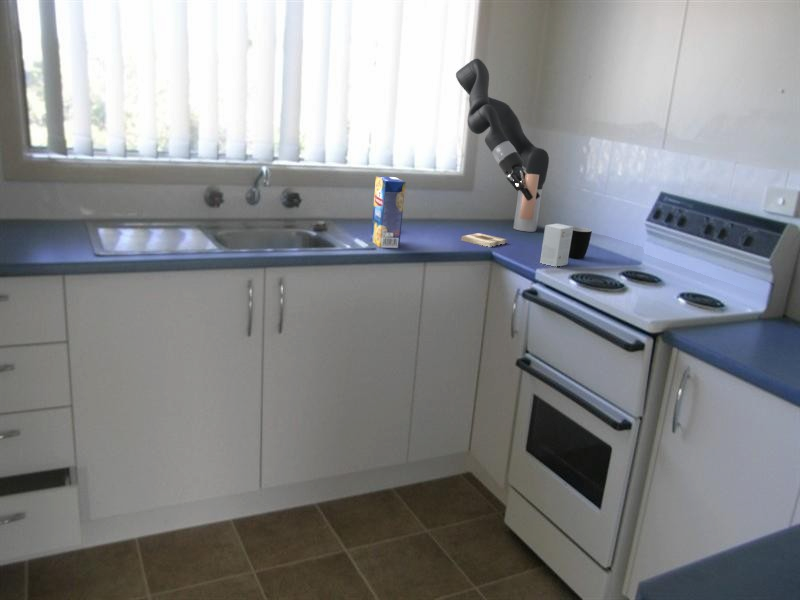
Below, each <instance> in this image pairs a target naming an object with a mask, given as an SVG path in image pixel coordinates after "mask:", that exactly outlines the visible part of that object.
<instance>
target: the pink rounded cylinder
mask: <svg viewBox="0 0 800 600" xmlns="http://www.w3.org/2000/svg"><path fill="white" fill-rule="evenodd" d="M538 180H539V175H538V174H531V173H526V174H525V184H526V187H527V188H528V190H529V191H530V193H531V194H532V196H533V198H532V199H531V200H529V201H527V199H526V198H525V196H524V195H522V202H521V209H520V217H519V218H521V219H526V220H533V215H534V208H535V201H536V194H537V187H538ZM527 188H526V189H527Z"/></svg>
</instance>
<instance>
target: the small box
mask: <svg viewBox="0 0 800 600" xmlns="http://www.w3.org/2000/svg"><path fill="white" fill-rule="evenodd" d="M572 226H573V225H566V224H563V223H558V222H557V223H552V224H546V225H545V226H544V231H543V232H544V233H543V238H542V239H543V240H542V246H541V254H540V259H539V260H540V261H539V264H540V263H542V264H541V265H543V264H546V265H545V266H547V265H551V266H556V267H555V268H558V267H557V266H560V267H562V266H567V265H569V264H568V262H569V258H568V257H569V251H570V245H571V239H572V232H573V227H572ZM551 266H550V267H551Z"/></svg>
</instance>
